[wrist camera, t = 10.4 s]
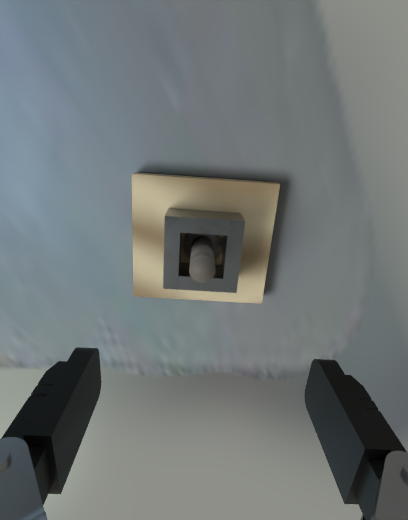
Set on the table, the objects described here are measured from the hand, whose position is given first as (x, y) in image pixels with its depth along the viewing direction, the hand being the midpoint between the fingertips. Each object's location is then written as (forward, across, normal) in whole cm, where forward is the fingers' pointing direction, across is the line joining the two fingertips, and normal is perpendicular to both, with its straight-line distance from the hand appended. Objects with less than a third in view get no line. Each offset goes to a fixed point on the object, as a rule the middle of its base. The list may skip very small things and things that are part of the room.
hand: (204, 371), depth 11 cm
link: (+16, 0, 0) cm, 16 cm away
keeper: (+17, 0, 0) cm, 17 cm away
